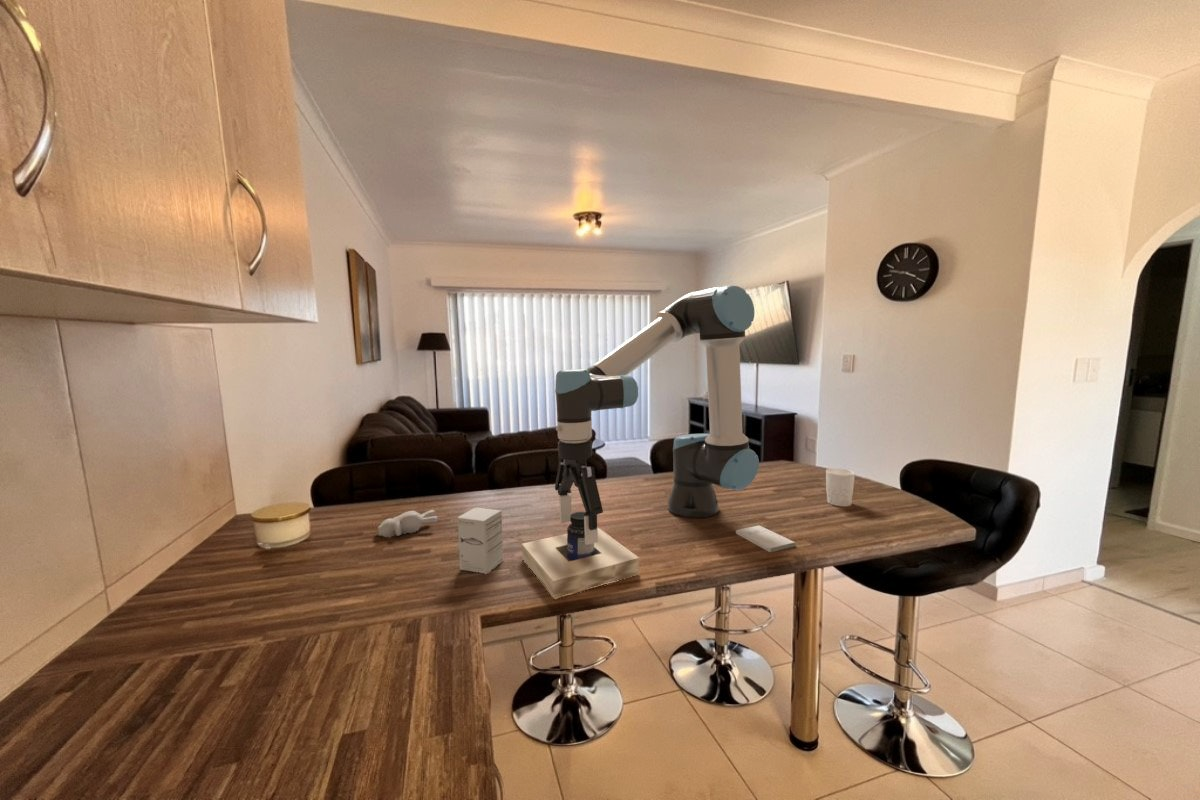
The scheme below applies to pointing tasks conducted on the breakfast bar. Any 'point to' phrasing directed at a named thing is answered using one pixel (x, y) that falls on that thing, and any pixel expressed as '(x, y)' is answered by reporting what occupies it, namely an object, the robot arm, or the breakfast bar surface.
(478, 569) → the supplement box
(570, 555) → the pill bottle
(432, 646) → the breakfast bar surface
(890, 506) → the breakfast bar surface
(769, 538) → the external hard drive
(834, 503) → the white cup
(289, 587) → the breakfast bar surface
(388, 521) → the bunny figurine
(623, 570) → the socket block
